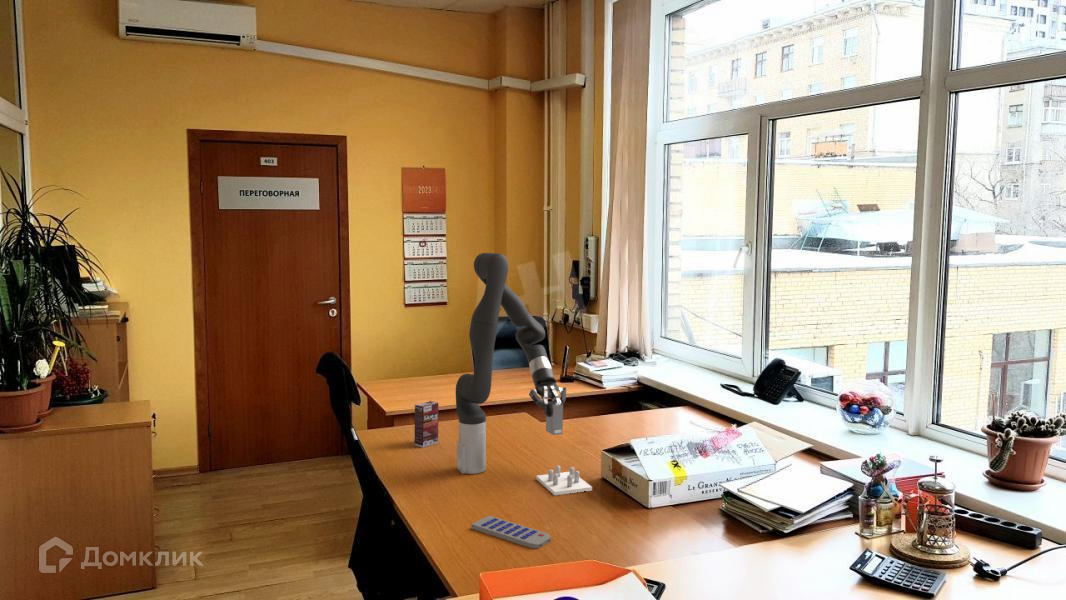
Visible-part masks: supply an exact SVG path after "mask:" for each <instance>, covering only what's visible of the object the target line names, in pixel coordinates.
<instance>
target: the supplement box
mask: <svg viewBox="0 0 1066 600" xmlns="http://www.w3.org/2000/svg"><path fill="white" fill-rule="evenodd" d="M436 444H439V402H436V401H432V400H430V401H426V402H422V403H417V404H414V446H416V447H418V448H425V447H429V446H432V445H436Z"/></svg>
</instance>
